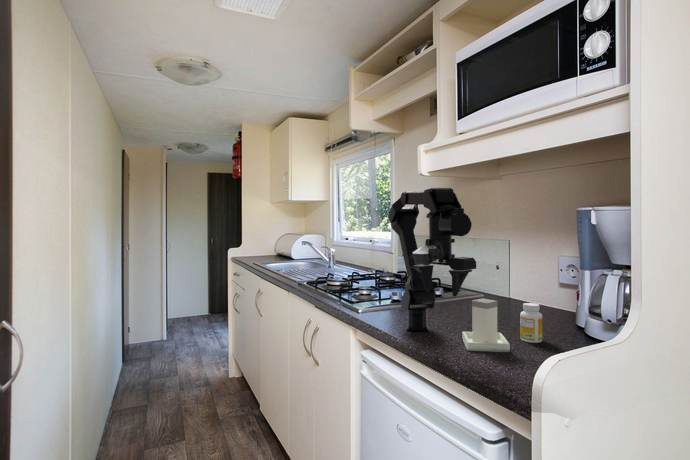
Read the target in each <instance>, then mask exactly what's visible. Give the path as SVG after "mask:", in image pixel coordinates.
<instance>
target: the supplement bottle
mask: <svg viewBox="0 0 690 460" xmlns="http://www.w3.org/2000/svg"><path fill="white" fill-rule="evenodd" d="M522 309H523V311H521V312H520V314H519V315H520V316H519V318H520V319H519V320H520V321H519V322H520V325H519V326H520V333H519V334H520V336H519V337H520V340H521V341H523V342H525V343H532V344H538V343H542V341H543V314H542V313H541V312H540V304H539V303H536V302H535V303H534V302H524V303H522Z"/></svg>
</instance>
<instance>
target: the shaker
mask: <svg viewBox="0 0 690 460" xmlns="http://www.w3.org/2000/svg"><path fill="white" fill-rule="evenodd" d="M498 302H499V301H498V300H494V299H488V298H478V299H473V300H471V313H472V314H471V315H472V316H471V319H472V320H471V321H472V322H471V323H472V324H471V325H472V330H471V332H472V342H483V343H497V333H498V305H499V304H498Z"/></svg>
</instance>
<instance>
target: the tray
mask: <svg viewBox="0 0 690 460" xmlns="http://www.w3.org/2000/svg"><path fill="white" fill-rule="evenodd" d="M461 336H462V341H463V344H464V346H465V348H466V351H469V352H490V353H491V352H492V353H493V352H494V353H495V352H496V353H511V347H510V346H511V345H510V342H508V340H507V338H506V337H505V336H504V335H503V334H502V332H497V343H483V342H472V331H462V335H461Z"/></svg>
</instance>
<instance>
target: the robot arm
mask: <svg viewBox="0 0 690 460" xmlns="http://www.w3.org/2000/svg"><path fill="white" fill-rule="evenodd" d="M406 205H407V206H408V205H410V206H412V205H413V207H406ZM419 205H422V206H423V207H424V208H426V209H428V211H429V212H428V213H426V218H427V219H428V220H429V222H428V224H429V225H428V228H429V229H428V231H429V233H428V234H429V236H428V237H429V238H425V239H426V240H425V241H424V242H425V243H424V245H423V246H421V247H419V246H418V244H417V240H416V235H415V227H416V225H417V219H418V216H419V215H420V210H419V207H418V206H419ZM387 217H388V222H389V224H390V226H391V229H392V230H393V232H395V234H397V235H398V239H399V242H400V247H401V252H402V257H403V261H404V265H405V271H406V274H407V280H406V283H405V286H404V293H403V295H402V297H401V299H400V305H401V308H402V309H404V310H406V311H407V323H406V329H405V330H406V331H408V332H409V331H410V332H412V331H413V332H429V331H430V328H429V324H428V309H434V307H435V302H436V297H437V294H436V291H435V290H436V289H435V287H434V284H433V270H434V265H438V266H448V267H449V268H450V270H448V273H449V274H450V275H451V293H452V297H453V298H455V297H457V296H458V295H459V293H460V290H461V288H462V285H463V284H464V281H465V280H466V278H467V276H468V275H469V273H472V272H473V270H476V269H477V261H476V259H475V258H474V257H471V256H470V257H468V256H460V257H459V256H458V257H456V254H455V253H452V247H453V246H452V245H453V243H456V239H455V238H453V237H465V236H467V235H468V234H469V233H470V232H471V230H472V221H471V218H470V217H469V215H468V214H466V213H465V209H464V208H463V207H462V205H461V203H460V201H459V199H458V197H457V194H456V192H454V189H453V188H452V187H429V188H426V189H424V190H423V191H404V192H402V193H401V195H400V196H399V198H398V199H397V200H396V201H395V202H394V203H392V205H391V207H390V209H389V212H388V216H387ZM418 247H419V248H418Z"/></svg>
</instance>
